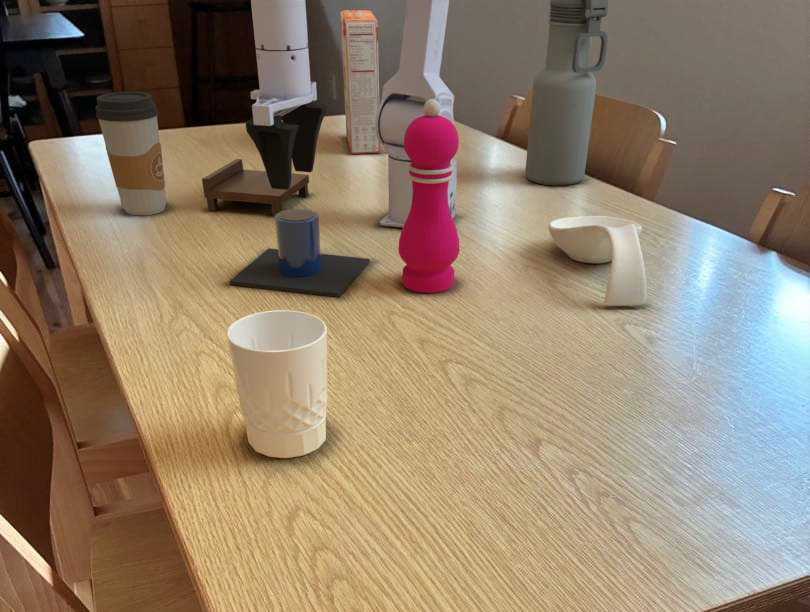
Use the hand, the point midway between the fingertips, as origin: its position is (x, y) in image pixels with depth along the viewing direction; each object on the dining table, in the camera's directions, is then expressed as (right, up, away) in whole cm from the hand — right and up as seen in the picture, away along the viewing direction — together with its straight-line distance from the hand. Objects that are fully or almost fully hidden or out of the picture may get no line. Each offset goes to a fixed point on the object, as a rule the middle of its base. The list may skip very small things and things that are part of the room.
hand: (292, 179), depth 96 cm
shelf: (-9, +9, +27) cm, 30 cm away
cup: (+1, -9, +4) cm, 10 cm away
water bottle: (+39, +17, +38) cm, 57 cm away
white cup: (+3, -34, -26) cm, 43 cm away
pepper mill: (+16, -12, +2) cm, 20 cm away
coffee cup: (-25, +6, +24) cm, 36 cm away
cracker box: (+5, +31, +56) cm, 64 cm away
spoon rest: (+38, -9, +5) cm, 40 cm away
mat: (+1, -10, +4) cm, 11 cm away
